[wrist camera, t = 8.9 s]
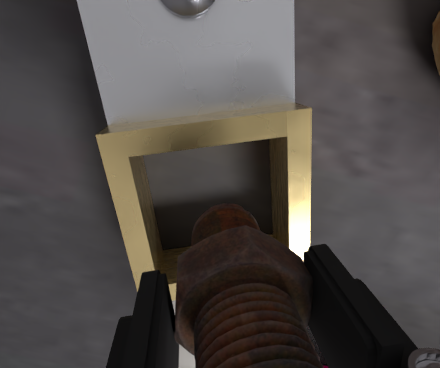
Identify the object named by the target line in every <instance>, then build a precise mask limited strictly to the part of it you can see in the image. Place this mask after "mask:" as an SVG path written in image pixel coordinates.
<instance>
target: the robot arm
mask: <svg viewBox="0 0 440 368" xmlns="http://www.w3.org/2000/svg"><path fill="white" fill-rule="evenodd" d="M303 263H304V264H305V266H306V268H307V269H308V271H309V273H310V274H311V276H312V278H313V303H312V310H311V317H310V320H309V322H308V326H309V328H310V330H311V332H312V334H313V336H314V338H315V340H316V342H317V344H318V346H319V349H320V351H321V353H322V355H323V357H324V359H325V361H326V363H327V365H328V367H329V368H440V349H434V348H419V349H418V348H417V347H416V345H415V344H414V343H413V342H412V341H411V339H410V338H409V337H408V336H407V335H406V333H405V332H404V331H403V330H402V329H401V327H400V326H399V325H398V324H397V323H396V321H395V320H394V319H393V318H392V316H391V315H390V314H389V313H388V312H387V310H386V309H385V308H384V307H383V306H382V304H381V303H380V302H379V301H378V300H377V298H376V297H375V296H374V295H373V294H372V292H371V291H370V290H369V289H368V288H367V286H366V285H365V284H364V283H363V282H362V281H361V280H359V279H354V278H353V277H352V276H351V274H350V273H349V272H348V271H347V269H346V268H345V267H344V266H343V265H342V263H341V262H340V261H339V260H338V258H337V257H336V256H335V255H334V253H333V252H332V251H331V250H330V248H329V247H328V246H327V245H326V244H321V245H315V246H310V247H309V248H308V251H305V252H304V260H303ZM174 332H175V313H174V308H173V303H172V299H171V294H170V289H169V285H168V280H167V276H166V273H163V274H161V273H160V271H159V270H153V271H147V272H143V273H142V275H141V279H140V284H139V288H138V293H137V297H136V302H135V307H134V311H133V315H132V316H125V317H121V318H120V319H119V322H118V325H117V328H116V332H115V336H114V340H113V343H112V347H111V351H110V354H109V358H108V362H107V366H106V368H179V344H178V343H177V342H176V340H175V337H174Z"/></svg>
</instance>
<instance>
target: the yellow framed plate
mask: <svg viewBox="0 0 440 368" xmlns="http://www.w3.org/2000/svg"><path fill="white" fill-rule="evenodd" d="M77 4H78V8H79V12H80V16H81V20H82V24H83V28H84V32H85V36H86V40H87V44H88V48H89V52H90V56H91V60H92V64H93V68H94V72H95V76H96V80H97V84H98V88H99V92H100V96H101V100H102V104H103V108H104V112H105V116H106V120H107V124H108V126H107V127H106V128H104V129H103V130H102V131H100V132H99V133H97V134H96V139H97V143H98V146H99V150H100V154H101V158H102V161H103V165H104V169H105V172H106V176H107V180H108V184H109V187H110V191H111V195H112V198H113V202H114V206H115V210H116V213H117V217H118V221H119V225H120V228H121V232H122V236H123V239H124V243H125V247H126V251H127V254H128V258H129V262H130V265H131V269H132V273H133V277H134V280H135V284H136V288H137V291H138V288H139V284H140V279H141V275H142V273H143V272H147V271H153V270H159V271H160V273H161V274H163V273H166V276H167V280H168V285H169V289H170V294H171V299H172V303H173V308H174V313H175V304H176V281H177V260H178V256H179V255H181V254H182V253H184V252H185V251H186V250H188V249H189V248H191V246H188V247H181V248H175V249H168V250H163V249H162V244H161V240H160V235H159V230H158V225H157V221H156V216H155V211H154V207H153V202H152V197H151V193H150V188H149V183H148V178H147V174H146V169H145V164H144V160H143V155H148V154H156V153H164V152H171V151H179V150H187V149H194V148H202V147H209V146H217V145H225V144H232V143H240V142H248V141H255V140H263V139H269V154H270V178H271V201H272V225H273V234H267V235H269V236H271V237H273V238H274V239H276V240H277V241H279V242H280V243H282V244H284V245H285V246H287V247H288V248H289V249H291V250H292V251H293V252H294V253H296V254H297V255H298V256H300V257H301V258H302V260H304V252H305V251H308V248H309V247H310V207H311V137H312V108H311V107H307V106H304V105H301V104H297V103H295V61H294V0H77ZM179 368H195V358H194V355H192V354H191V353H189V352H188V351H187V350H186V349H184V348H183V347H182V346H181V345H180V344H179Z"/></svg>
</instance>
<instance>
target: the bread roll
mask: <svg viewBox="0 0 440 368" xmlns="http://www.w3.org/2000/svg"><path fill="white" fill-rule="evenodd" d="M432 26H433V29H432V33H433V42H432V48H433V52H434V57H435V62H436V66H437V69H438V72H439V75H440V11H439V13H438V14H437V17H436V19H435V21H434V22H433V24H432Z"/></svg>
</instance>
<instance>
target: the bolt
mask: <svg viewBox="0 0 440 368" xmlns="http://www.w3.org/2000/svg"><path fill="white" fill-rule="evenodd" d="M312 303H313V278H312V276H311V274H310V273H309V271H308V269H307V268H306V266H305V264H304V263H303V260H302V258H301V257H300V256H298V255H297V254H296V253H294V252H293V251H292V250H291V249H289V248H288V247H287V246H285V245H284V244H282V243H280V242H279V241H277V240H276V239H274V238H273V237H271V236H269V235H267V234H265V233H263V232H261V231H260V228H259V226H258V224H257V221H256V220H255V218H254V217H253V215H252V214H251V213H250V212H249V211H248V210H247V211H245V210H243V207H241V206H239V205H238V204H232V203H221V204H217V205H215V206H213V207H211V208H209V209H208V210H207V211H206V212H204V213H203V214H202V215H201V216H200V217H199V218H198V220H197V221H196V223H195V225H194V228H193V232H192V237H191V248H189V249H188V250H186V251H185V252H184V253H182V254H181V255H179V256H178V260H177V281H176V304H175V332H174V337H175V340H176V342H177V343H178V344H180V345H181V346H182V347H183V348H184V349H186V350H187V351H188V352H189V353H191V354H192V355H194V358H195V368H324V367H323V365H322V364H321V362H320V357H319V355H318V354H317V352H316V351H315V347H314V344H313V343H312V341H311V340H310V336H309V333H308V331H307V329H306V327H307V325H308V322H309V320H310V317H311V310H312Z"/></svg>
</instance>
